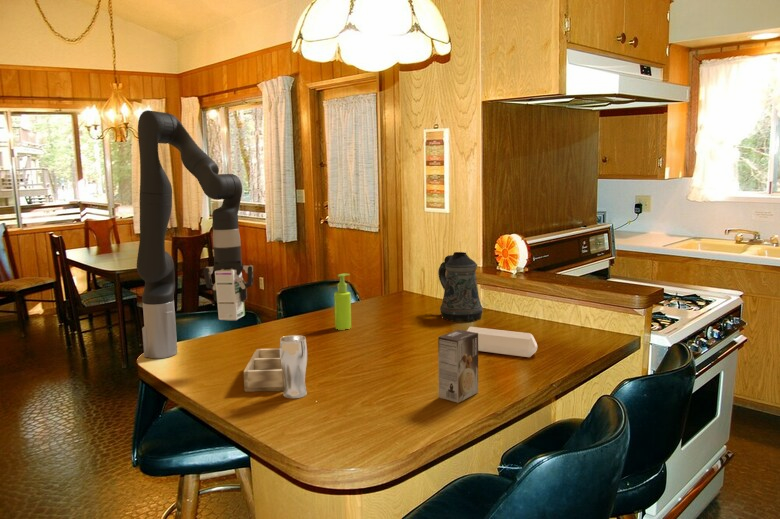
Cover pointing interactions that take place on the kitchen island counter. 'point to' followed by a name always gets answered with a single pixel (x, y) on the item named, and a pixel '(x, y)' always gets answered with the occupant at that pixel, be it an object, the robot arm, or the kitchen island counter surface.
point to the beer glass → (293, 365)
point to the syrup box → (228, 295)
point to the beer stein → (459, 288)
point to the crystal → (505, 342)
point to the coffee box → (458, 365)
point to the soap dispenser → (342, 305)
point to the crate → (264, 371)
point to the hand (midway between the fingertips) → (230, 301)
